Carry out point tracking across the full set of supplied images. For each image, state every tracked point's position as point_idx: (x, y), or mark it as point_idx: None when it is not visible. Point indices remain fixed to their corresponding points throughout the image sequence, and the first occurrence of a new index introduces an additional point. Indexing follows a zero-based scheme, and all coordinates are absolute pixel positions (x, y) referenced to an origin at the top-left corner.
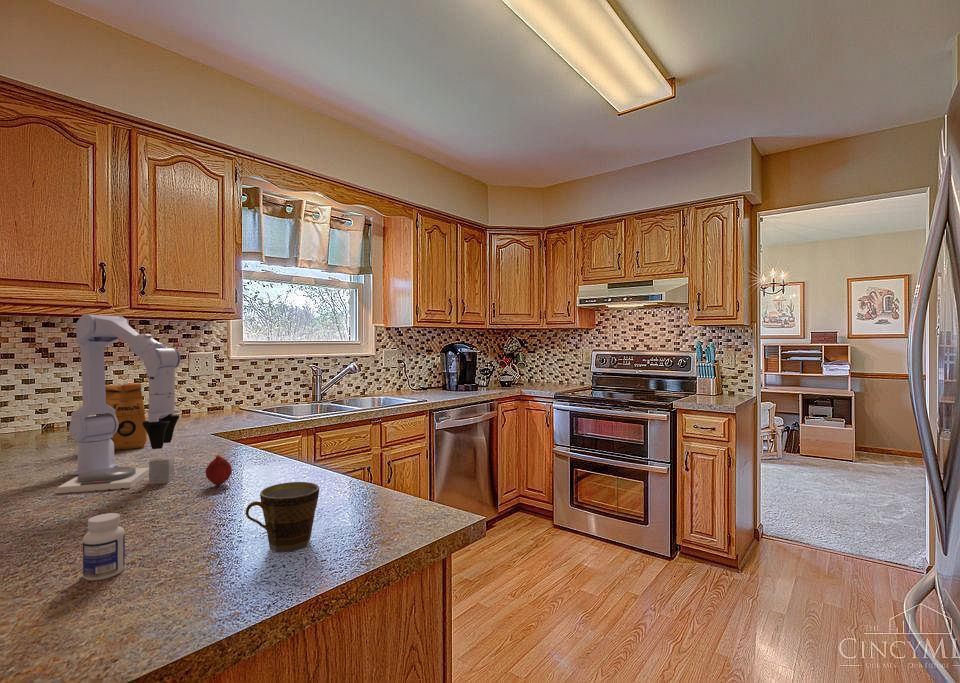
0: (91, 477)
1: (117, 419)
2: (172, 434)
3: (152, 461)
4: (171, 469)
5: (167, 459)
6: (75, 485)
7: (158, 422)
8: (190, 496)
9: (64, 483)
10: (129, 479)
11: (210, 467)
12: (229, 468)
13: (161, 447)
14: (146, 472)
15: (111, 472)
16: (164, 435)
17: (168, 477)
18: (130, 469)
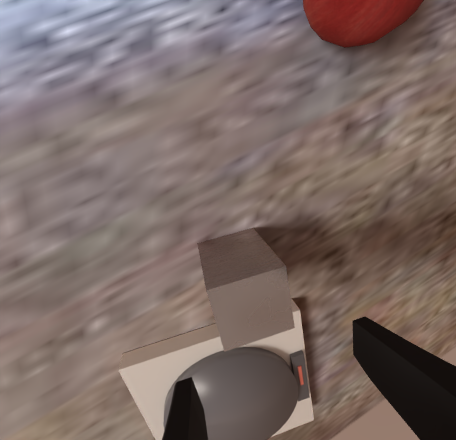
0: (281, 408)
1: None
2: (177, 437)
3: (291, 317)
4: (230, 253)
5: (275, 277)
6: (307, 400)
7: None
8: (419, 74)
9: (284, 431)
10: None
11: None
12: None
13: (370, 320)
14: (160, 349)
15: (233, 403)
16: (442, 379)
17: (258, 235)
18: (199, 384)
